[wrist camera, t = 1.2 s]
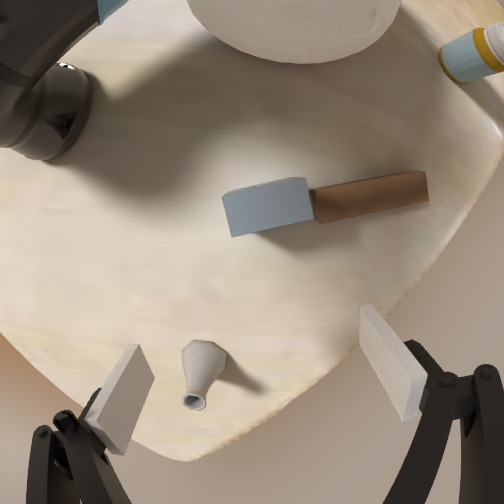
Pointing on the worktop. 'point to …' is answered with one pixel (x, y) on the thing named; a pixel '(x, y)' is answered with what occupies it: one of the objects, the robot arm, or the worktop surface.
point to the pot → (297, 26)
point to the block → (369, 195)
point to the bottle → (475, 54)
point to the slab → (267, 206)
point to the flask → (201, 371)
